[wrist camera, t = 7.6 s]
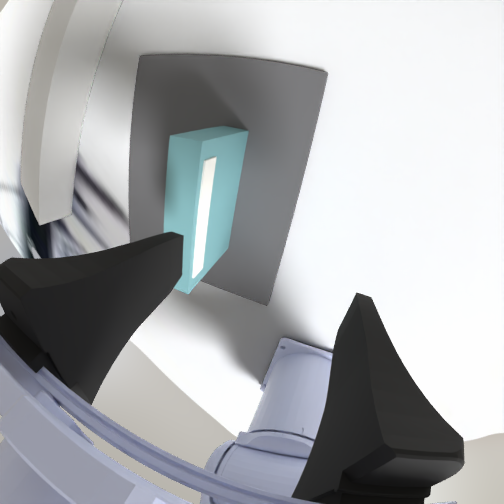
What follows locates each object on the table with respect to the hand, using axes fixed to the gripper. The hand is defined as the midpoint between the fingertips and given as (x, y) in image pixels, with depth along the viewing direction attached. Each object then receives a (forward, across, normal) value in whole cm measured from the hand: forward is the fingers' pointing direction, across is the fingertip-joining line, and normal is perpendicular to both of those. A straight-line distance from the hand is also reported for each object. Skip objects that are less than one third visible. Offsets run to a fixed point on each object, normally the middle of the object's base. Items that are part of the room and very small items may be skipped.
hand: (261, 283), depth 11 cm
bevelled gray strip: (+10, +25, -10) cm, 29 cm away
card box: (+9, +6, 0) cm, 10 cm away
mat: (+9, +8, 0) cm, 12 cm away
